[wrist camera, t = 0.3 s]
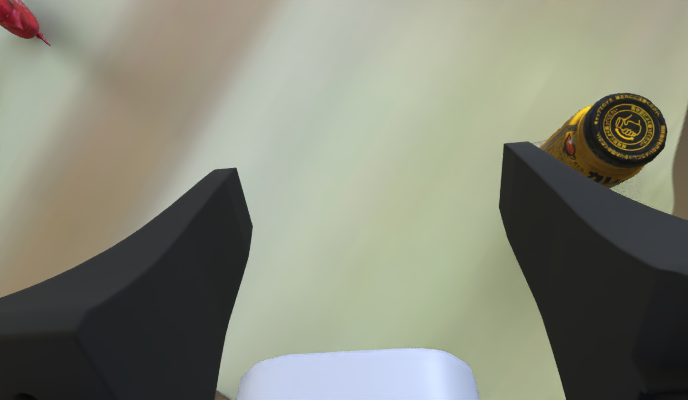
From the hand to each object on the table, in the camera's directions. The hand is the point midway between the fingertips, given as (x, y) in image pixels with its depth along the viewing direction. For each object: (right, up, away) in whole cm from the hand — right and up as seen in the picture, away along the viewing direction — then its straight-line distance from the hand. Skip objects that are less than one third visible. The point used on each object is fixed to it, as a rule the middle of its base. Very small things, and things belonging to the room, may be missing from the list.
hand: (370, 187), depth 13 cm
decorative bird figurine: (-34, +18, +38) cm, 54 cm away
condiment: (+19, +1, +31) cm, 36 cm away
